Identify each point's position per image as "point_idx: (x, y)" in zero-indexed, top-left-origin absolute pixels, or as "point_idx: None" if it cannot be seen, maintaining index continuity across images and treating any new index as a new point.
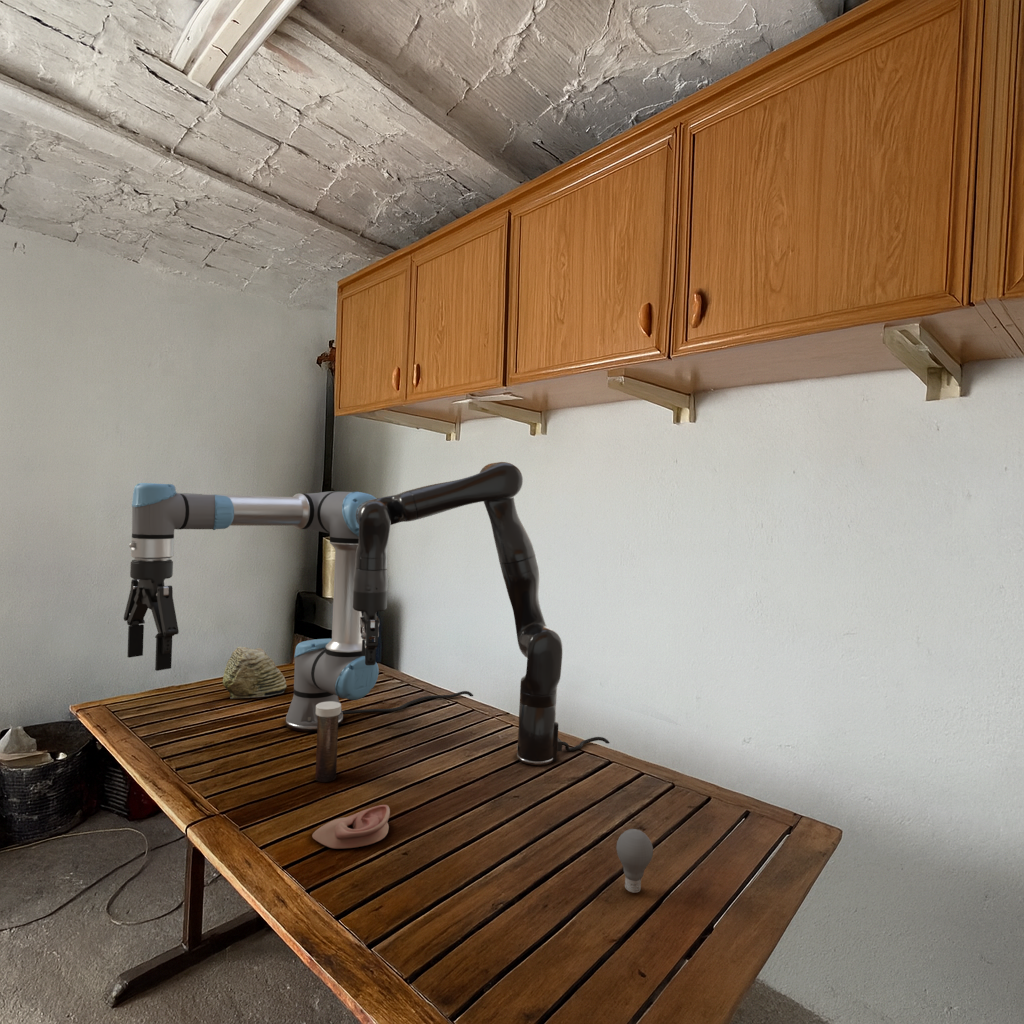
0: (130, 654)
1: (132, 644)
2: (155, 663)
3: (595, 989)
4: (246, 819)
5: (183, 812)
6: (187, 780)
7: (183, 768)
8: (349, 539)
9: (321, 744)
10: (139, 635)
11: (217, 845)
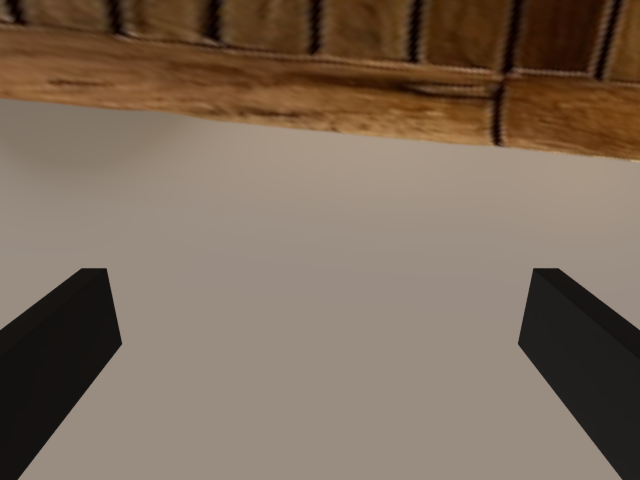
0: (112, 348)
1: (71, 386)
2: (540, 370)
3: None
4: (575, 46)
5: (439, 128)
6: (295, 48)
7: (217, 21)
8: None
9: None
10: (9, 392)
11: (607, 140)
